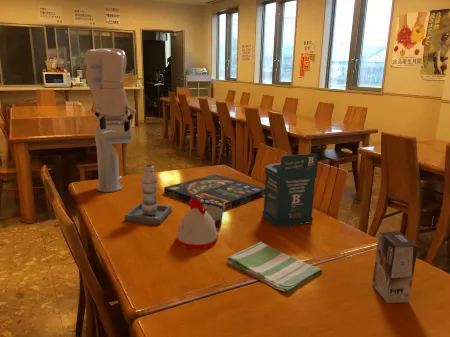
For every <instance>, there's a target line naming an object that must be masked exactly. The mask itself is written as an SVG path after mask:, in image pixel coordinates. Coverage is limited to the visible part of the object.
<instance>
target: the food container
mask: <svg viewBox="0 0 450 337" xmlns="http://www.w3.org/2000/svg"><path fill="white" fill-rule="evenodd" d="M198 200H201V205H202V204H204V205H203V209H206V211H207V212H208V213H209V215H210V216H211V217H212V219H213V220H215V227H216V230H220V229H221V228H222V223H223V222H222V221H223V215H224V211H223V210H224V209H225V203H224V201H223V200H222V199H219V198H215V197H202V198H198Z"/></svg>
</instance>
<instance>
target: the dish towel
mask: <svg viewBox="0 0 450 337" xmlns="http://www.w3.org/2000/svg"><path fill="white" fill-rule="evenodd" d="M226 259H227V261H226V263H227V264H229V265H231V266H232V267H235V268H237V269H239V270H240V271H243V272H245V273H246V274H249V275H250V276H251V277H253V278H255V279H257V280H260V281H262V282H263V283H265V284H266V285H268V286H270V287H272V288H273V289H276V290H278V291H281V292H284V293H285V294H289V293H291V292H292V291H294V290H296V289H298V288H299V287H300V286H302V285H303V284H304V283H306V282H308V280H310V279H314V278H316V277H317V276H319V275H320V274H322V273H323V269H321V268H319V267H318V266H314V265H312V264H309V263H306V262H304V261H302V260H300V259H297V258H295V257H292V256H290V255H288V254H286V253H284V252H282V251H280V250H278V249H277V248H274V247H272V246H270V245H268V244H266V243H264V242H263V241H259V242H258V243H256V244H254V245H251V246H249V247H247V248H245V249H243V250H240V251H238V252H236V253H234V254H232V255H230V256H228V257H227V258H226Z"/></svg>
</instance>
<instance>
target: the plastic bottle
mask: <svg viewBox="0 0 450 337" xmlns="http://www.w3.org/2000/svg"><path fill="white" fill-rule="evenodd" d="M143 171H144V172H143V174H142V175H141V177H140V184H141V188H142V189H141V190H142V201H141V203H142V213H143V214H144V215H147V216H151V215H155V214H156V213H157V212H158V205H159V204H158V199H157V187H158V177H157V175H156V173H155V172H154V171H155V168H154V165H153V164H146V165H144V166H143Z"/></svg>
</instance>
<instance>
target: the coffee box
mask: <svg viewBox="0 0 450 337" xmlns="http://www.w3.org/2000/svg"><path fill="white" fill-rule="evenodd" d="M377 239H378V240H377V245H376V252H375V259H374V269H373V273H372V274H373V275H372V276H373V277H372V283H371V285H372V287H374V289H375V290H376V291H377V292H378V294H379V295H380V296H381V297H382V298H383V299H384V301H385V303H387V304H389V303H393V304H394V303H399V304H400V303H409V302H410V296H411V291H412V286H413V285H412V284H413V280H414V273H415V266H416V260H417V255H418V249H419V245H417V244H416V243H415V242H414V241H412V240H411V239H410V238H408V237H407V236H405V234H404V233H402V232H400V231H386V232H378V237H377Z"/></svg>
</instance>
